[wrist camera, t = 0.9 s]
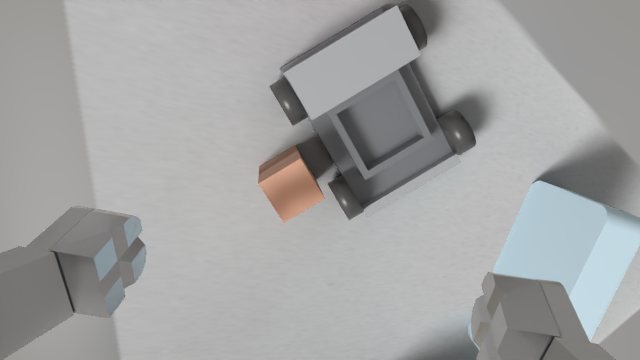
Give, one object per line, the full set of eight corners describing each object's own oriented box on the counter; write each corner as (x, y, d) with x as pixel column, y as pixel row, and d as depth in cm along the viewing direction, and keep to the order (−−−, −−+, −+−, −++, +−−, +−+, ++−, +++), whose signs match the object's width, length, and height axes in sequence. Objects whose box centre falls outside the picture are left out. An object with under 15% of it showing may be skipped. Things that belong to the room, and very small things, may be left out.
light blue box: (500, 340, 62) (561, 409, 49) (464, 331, 61) (517, 400, 48) (570, 190, 58) (657, 224, 45) (534, 178, 57) (612, 209, 44)
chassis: (264, 77, 49) (264, 78, 43) (393, 0, 49) (412, -11, 43) (348, 218, 55) (359, 237, 49) (465, 149, 54) (491, 159, 48)
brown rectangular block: (259, 166, 52) (258, 183, 44) (295, 145, 52) (300, 158, 44) (281, 200, 53) (283, 222, 46) (316, 179, 53) (324, 198, 45)
